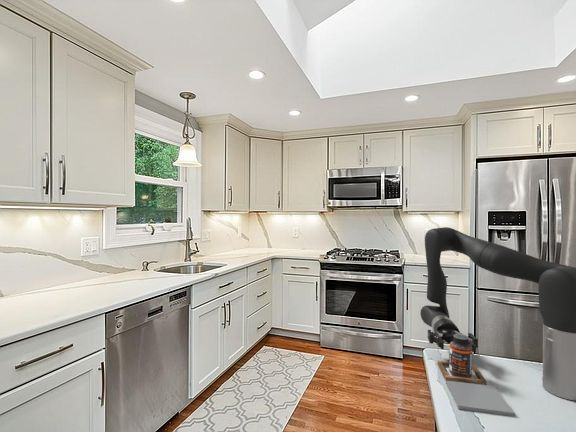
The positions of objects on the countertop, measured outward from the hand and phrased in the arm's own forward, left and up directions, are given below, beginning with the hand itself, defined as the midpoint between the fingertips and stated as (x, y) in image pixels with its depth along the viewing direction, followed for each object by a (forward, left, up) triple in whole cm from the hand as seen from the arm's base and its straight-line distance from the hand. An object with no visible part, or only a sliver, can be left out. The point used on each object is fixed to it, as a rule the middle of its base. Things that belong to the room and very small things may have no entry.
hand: (457, 347), depth 97 cm
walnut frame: (0, +3, -7) cm, 7 cm away
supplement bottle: (0, +3, -7) cm, 8 cm away
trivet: (0, +15, -7) cm, 17 cm away
